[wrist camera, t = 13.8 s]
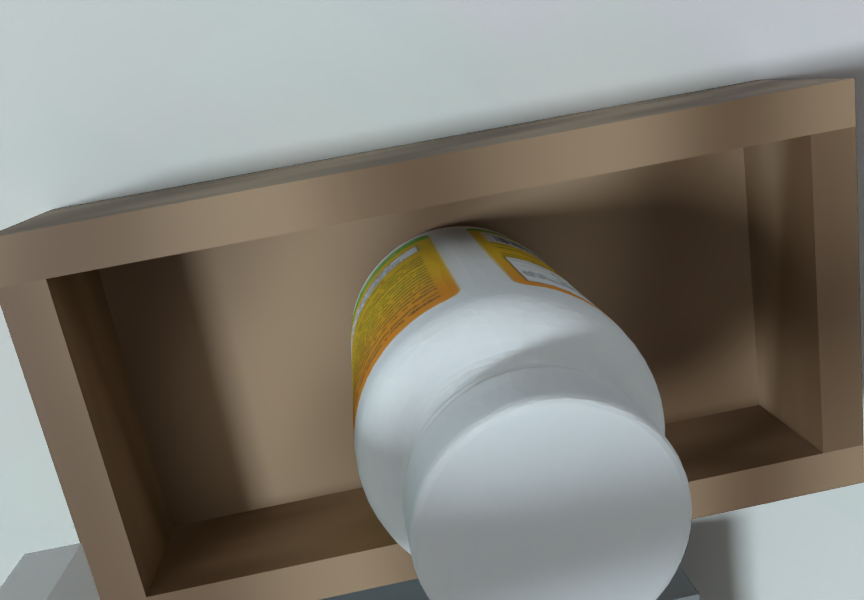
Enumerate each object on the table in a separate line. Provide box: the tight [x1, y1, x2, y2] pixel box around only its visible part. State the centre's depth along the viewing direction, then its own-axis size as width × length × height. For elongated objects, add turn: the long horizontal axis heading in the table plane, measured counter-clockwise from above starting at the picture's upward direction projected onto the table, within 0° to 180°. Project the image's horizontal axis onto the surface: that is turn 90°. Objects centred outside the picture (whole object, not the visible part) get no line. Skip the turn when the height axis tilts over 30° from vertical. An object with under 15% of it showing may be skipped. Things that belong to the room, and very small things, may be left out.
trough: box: [0, 78, 864, 600], centre depth 19 cm, size 18×10×4 cm, turn 99°
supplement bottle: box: [351, 226, 692, 600], centre depth 15 cm, size 5×5×10 cm
